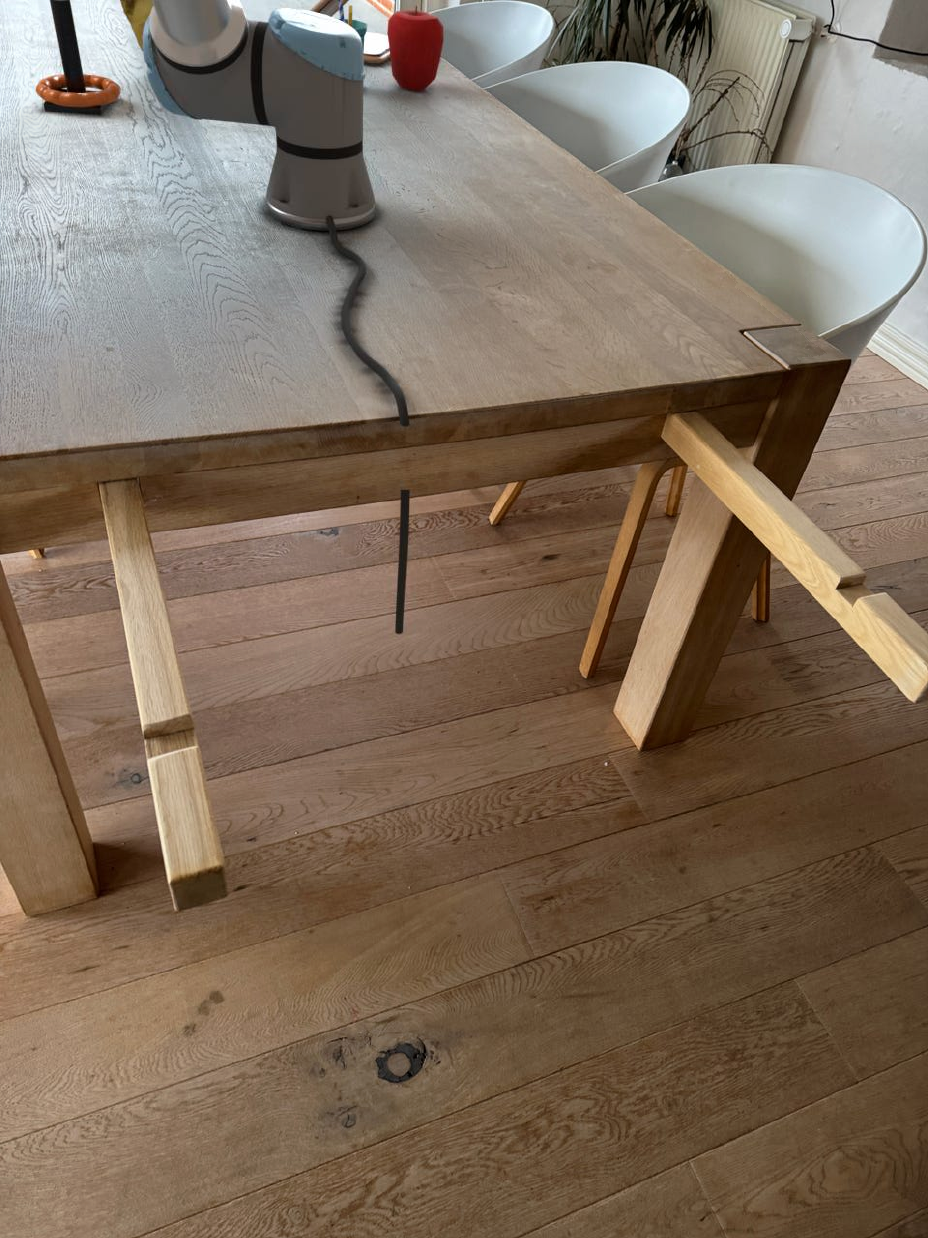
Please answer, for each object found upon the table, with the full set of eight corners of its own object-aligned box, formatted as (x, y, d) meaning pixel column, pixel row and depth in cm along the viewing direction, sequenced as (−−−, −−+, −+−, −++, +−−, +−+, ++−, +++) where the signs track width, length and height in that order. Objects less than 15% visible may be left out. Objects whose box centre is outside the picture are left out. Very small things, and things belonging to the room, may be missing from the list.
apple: (450, 89, 180) (455, 8, 170) (415, 97, 174) (419, 13, 164) (410, 76, 184) (413, -4, 175) (375, 83, 178) (377, 1, 169)
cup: (315, 77, 178) (313, -15, 167) (353, 76, 180) (353, -15, 170) (337, 98, 169) (336, 2, 158) (377, 97, 171) (379, 3, 161)
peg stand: (101, 115, 151) (82, 6, 140) (44, 111, 150) (21, 1, 139) (112, 99, 157) (95, -6, 146) (58, 95, 156) (37, -11, 145)
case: (321, 32, 204) (319, -56, 193) (410, 47, 201) (413, -42, 190) (284, 51, 189) (279, -43, 178) (379, 67, 187) (381, -27, 175)
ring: (115, 110, 149) (113, 96, 148) (31, 105, 147) (28, 92, 146) (125, 87, 159) (123, 74, 157) (46, 83, 156) (43, 70, 155)
